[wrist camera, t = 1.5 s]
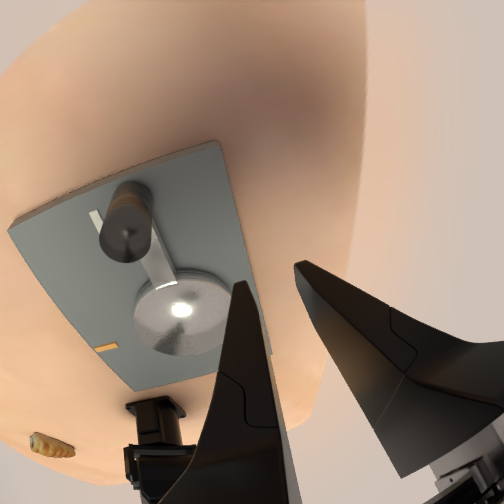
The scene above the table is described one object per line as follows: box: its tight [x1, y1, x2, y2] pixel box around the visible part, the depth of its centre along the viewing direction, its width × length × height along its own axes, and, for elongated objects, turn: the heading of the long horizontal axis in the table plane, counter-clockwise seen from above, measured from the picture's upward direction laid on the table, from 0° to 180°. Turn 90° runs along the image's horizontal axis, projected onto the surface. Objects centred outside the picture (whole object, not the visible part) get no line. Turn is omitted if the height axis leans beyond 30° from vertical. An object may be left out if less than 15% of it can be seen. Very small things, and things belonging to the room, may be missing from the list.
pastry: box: [30, 433, 75, 458], centre depth 36 cm, size 9×7×4 cm
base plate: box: [7, 140, 272, 392], centre depth 23 cm, size 22×16×2 cm
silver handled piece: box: [99, 181, 232, 356], centre depth 19 cm, size 15×8×5 cm, turn 11°
